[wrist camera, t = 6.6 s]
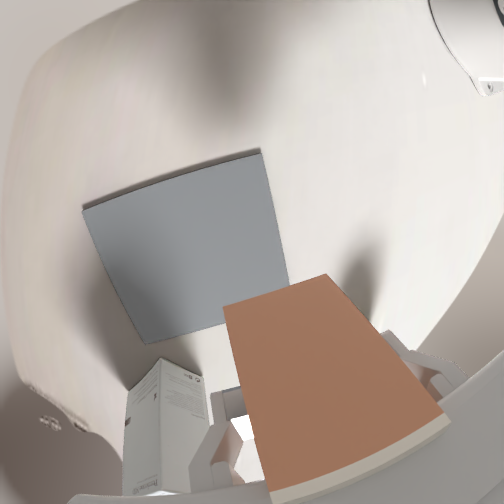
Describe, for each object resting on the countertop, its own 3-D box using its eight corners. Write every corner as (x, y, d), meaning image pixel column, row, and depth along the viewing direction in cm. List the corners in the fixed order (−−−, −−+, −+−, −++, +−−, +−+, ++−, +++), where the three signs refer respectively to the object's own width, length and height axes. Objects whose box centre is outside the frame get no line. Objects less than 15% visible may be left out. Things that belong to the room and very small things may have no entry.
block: (326, 273, 13) (451, 421, 5) (332, 347, 15) (413, 476, 7) (222, 306, 13) (273, 505, 5) (248, 376, 15) (294, 526, 7)
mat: (260, 153, 22) (261, 153, 21) (291, 299, 28) (292, 301, 27) (83, 210, 20) (81, 211, 20) (145, 341, 26) (145, 344, 26)
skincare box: (160, 355, 27) (159, 487, 14) (207, 377, 30) (226, 499, 17) (126, 393, 29) (117, 505, 16) (168, 412, 31) (175, 517, 18)
